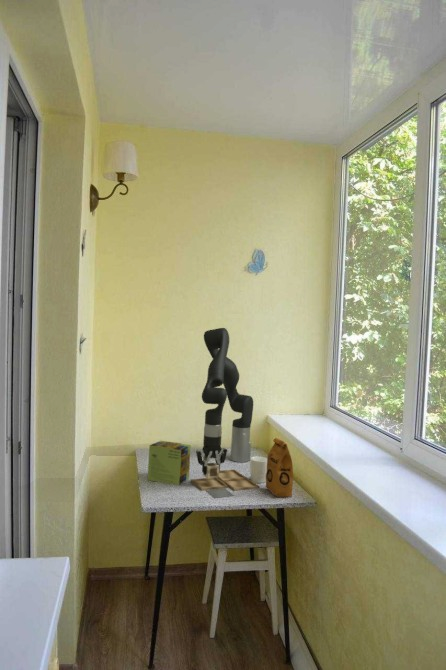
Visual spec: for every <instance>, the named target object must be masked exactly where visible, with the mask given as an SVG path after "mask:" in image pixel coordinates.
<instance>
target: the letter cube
mask: <svg viewBox="0 0 446 670" xmlns="http://www.w3.org/2000/svg"><path fill="white" fill-rule="evenodd" d="M202 475H203V477H204V478H208V479H209V478H218V477H219V465H217V464H216V462H208V463H207V474H206V475H205V474H203V473H202Z"/></svg>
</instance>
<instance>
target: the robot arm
mask: <svg viewBox="0 0 446 670" xmlns="http://www.w3.org/2000/svg"><path fill="white" fill-rule="evenodd" d="M203 340H204V344H205V346H206V348H207V351H208V352H209V354H210V356H211V358H212V360H211V361H210V363H209V365H208V369H207V379H206V383H205V385H204V388H203V390H202V393H201V400H202V402H203V403H204V404H206V405H207V404H208V405H216V407H214V408H209V409H207V410H205V413H204V414H205V415H204V427H203V447H202V449H200V450H199V449H197V450H196V451H195V453H196V458H197V463H198V464H199V465H200V466H202V467H201V471H202V475H203V474H205V475H206V474H207V463H209V461H210V459H214V461H215V463H216V464H217V465H219V471H221V464H224V463H225V461H226V456H227V454H228V449H226V448H225V447H221V446H222V433H223V432H222V428H223V427H222V422H223V421H222V420H223V419H222V418H223V417H222V416H223V415H222V414H223V410H224V407H225V404H226V401H228V405H229V407H230V409H231V410H232V411H233V413H234V412H235V413H239V414H241V416H240V417H239V418H235V419H233V420H232V426H231V427H232V428H231V442H230V443H231V446H230V461H233V462H237V463H246V462H251V451H252V442H251V440H250V439H251V428H252V427H251V426H252V425H251V424H252V421H253V412H254V399H253V397H252V396H251V395H246V394H240V393H239V392H238V389H237V385H238V383H239V380H240V373H239V369H238V367H237V365H236V362H234V361H233V360H232V359H230V358H229V357H227V356H228V351H229V348H230V347H229V346H230V334H229V331H228V330H227V328H225V327H220V328H214V329H208V330H205V331H204V333H203ZM222 385H223V387H221V386H222ZM203 454H204V455H203ZM219 455H220V456H219Z"/></svg>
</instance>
